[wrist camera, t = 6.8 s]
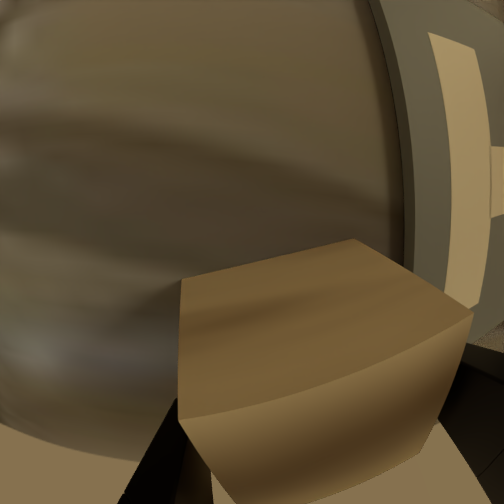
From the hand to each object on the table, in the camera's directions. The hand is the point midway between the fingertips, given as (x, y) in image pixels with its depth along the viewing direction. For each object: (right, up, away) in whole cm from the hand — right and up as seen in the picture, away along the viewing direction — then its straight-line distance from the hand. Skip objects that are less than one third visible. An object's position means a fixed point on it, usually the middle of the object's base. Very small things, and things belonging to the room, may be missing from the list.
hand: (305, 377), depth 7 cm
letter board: (+12, +7, +2) cm, 15 cm away
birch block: (-1, +1, +2) cm, 3 cm away
